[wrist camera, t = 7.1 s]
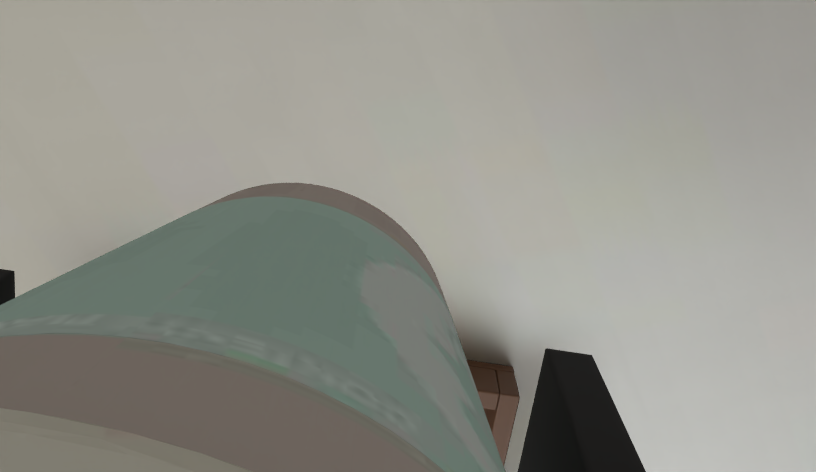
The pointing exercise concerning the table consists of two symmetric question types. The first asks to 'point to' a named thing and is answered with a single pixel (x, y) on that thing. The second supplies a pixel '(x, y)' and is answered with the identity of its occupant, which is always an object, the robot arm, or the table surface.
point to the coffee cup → (244, 350)
